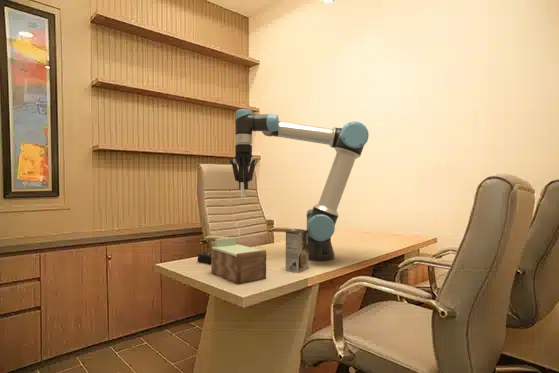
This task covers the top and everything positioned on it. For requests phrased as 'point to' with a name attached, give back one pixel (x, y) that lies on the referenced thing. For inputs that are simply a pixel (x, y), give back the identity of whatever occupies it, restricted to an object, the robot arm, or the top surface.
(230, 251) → the lid
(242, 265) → the box
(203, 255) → the portable cd player
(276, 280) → the top surface
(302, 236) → the coffee box
